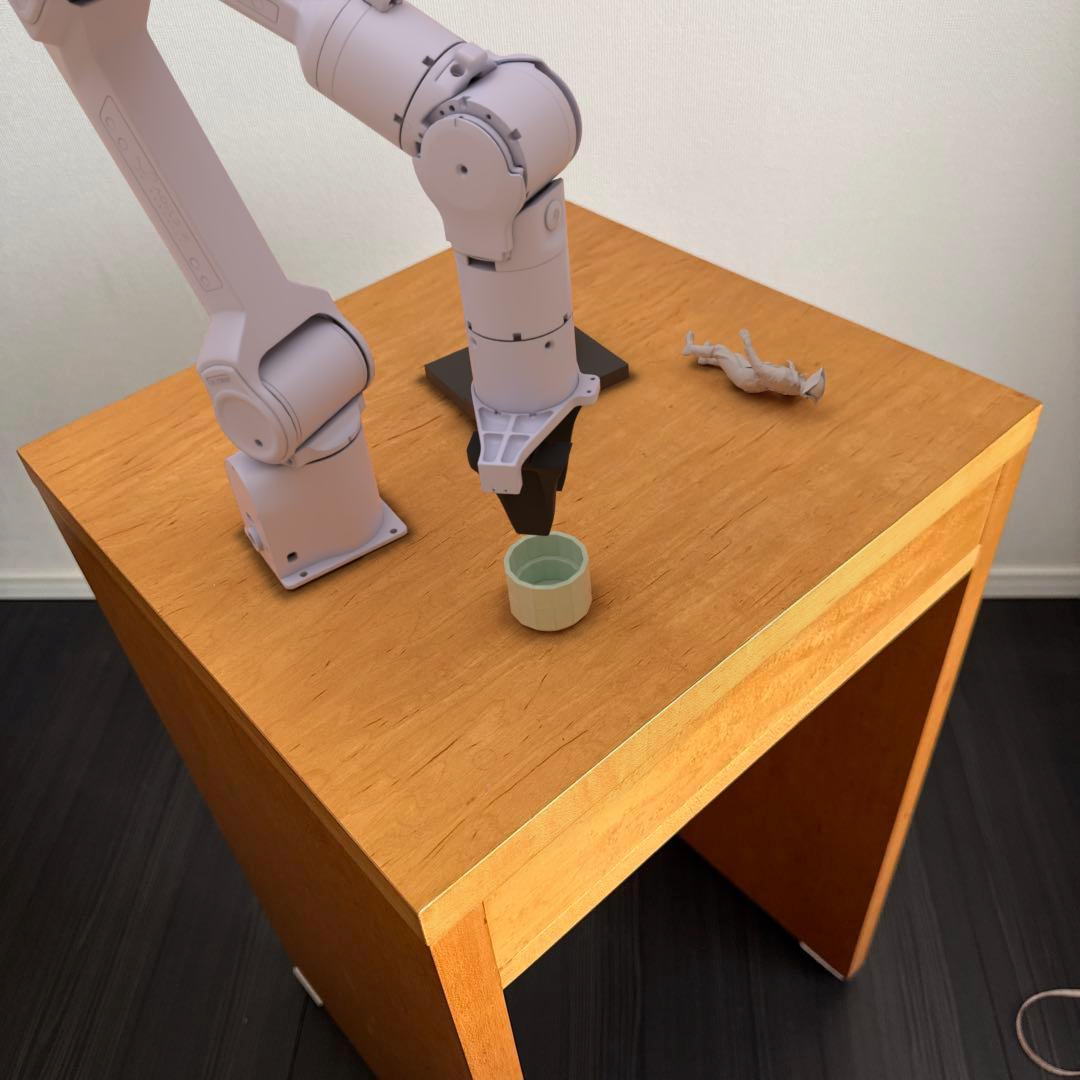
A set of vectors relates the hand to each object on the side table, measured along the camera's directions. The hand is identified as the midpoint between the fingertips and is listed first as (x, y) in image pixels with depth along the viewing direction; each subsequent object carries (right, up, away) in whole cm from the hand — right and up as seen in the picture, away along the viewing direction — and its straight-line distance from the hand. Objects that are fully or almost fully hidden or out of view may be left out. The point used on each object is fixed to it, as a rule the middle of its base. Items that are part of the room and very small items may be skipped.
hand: (540, 508), depth 68 cm
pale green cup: (+1, -6, +6) cm, 8 cm away
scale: (-1, +11, +25) cm, 28 cm away
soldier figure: (+17, +10, +22) cm, 29 cm away
